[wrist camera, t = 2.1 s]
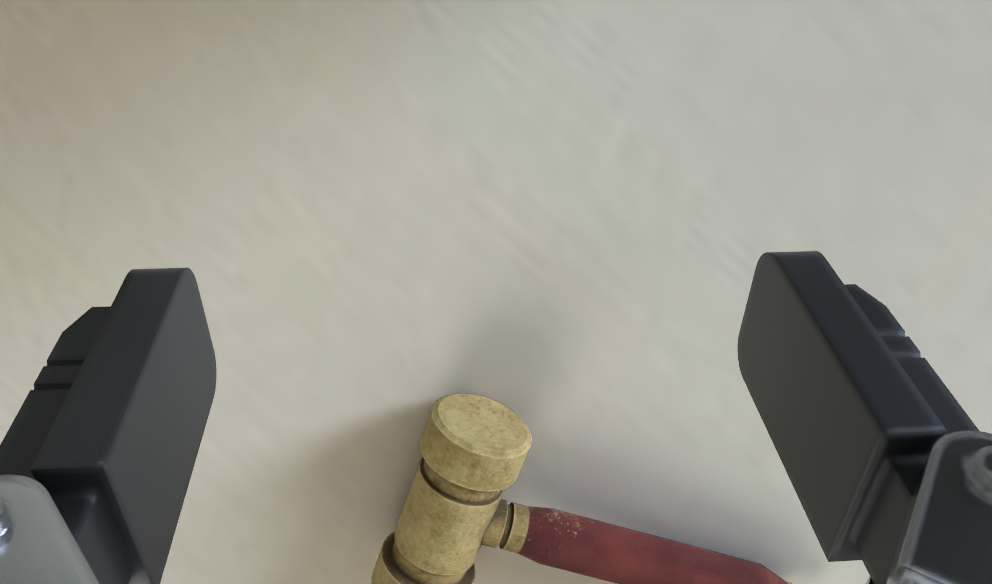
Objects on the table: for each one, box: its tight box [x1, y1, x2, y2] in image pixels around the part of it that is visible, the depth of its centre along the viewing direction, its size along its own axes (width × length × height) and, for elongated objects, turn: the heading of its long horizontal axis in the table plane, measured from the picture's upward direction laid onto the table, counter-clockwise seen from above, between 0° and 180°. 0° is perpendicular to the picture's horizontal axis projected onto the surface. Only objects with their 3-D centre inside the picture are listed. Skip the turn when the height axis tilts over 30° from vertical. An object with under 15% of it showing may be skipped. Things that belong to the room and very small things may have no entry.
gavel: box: [371, 394, 792, 584], centre depth 38 cm, size 21×5×10 cm
